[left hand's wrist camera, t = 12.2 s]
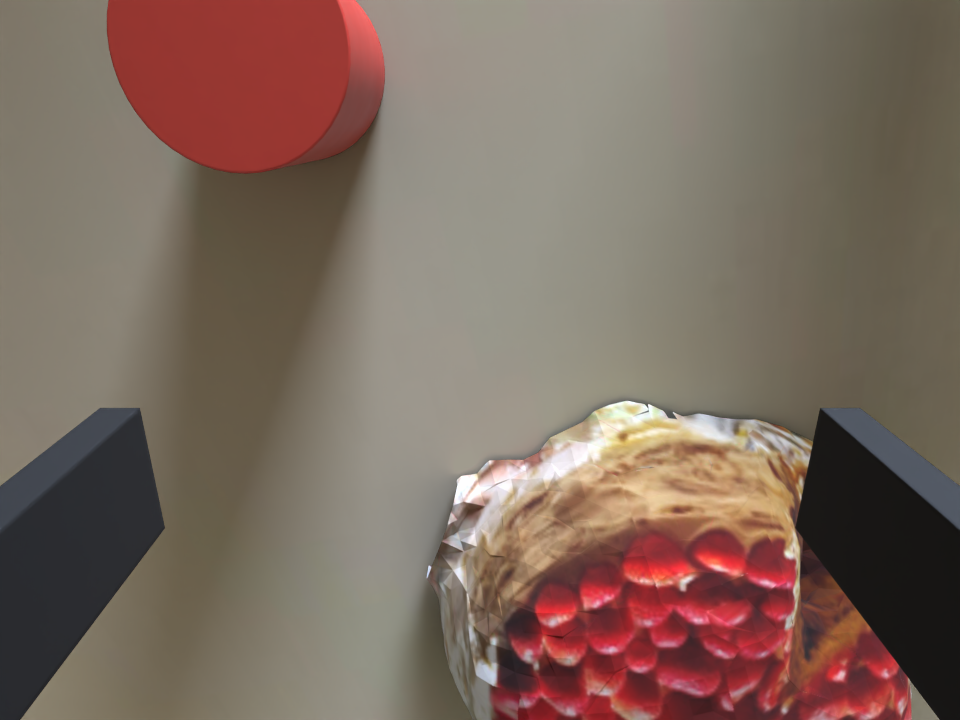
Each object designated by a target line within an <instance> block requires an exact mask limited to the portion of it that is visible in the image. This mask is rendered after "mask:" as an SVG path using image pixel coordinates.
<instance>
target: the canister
mask: <svg viewBox="0 0 960 720" xmlns="http://www.w3.org/2000/svg"><path fill="white" fill-rule="evenodd" d="M107 36H108V44H109V51H110V55H111V59H112V63H113V67H114V70H115V72H116V75H117V78H118V80H119V83H120V85H121V87H122V89H123V91H124V93H125V95H126V97H127V99H128V101H129V102H130V104H131V105H132V107H133V108H134V110H135V112H136V113H137V115H138V116H139V117H140V118H141V119H142V121H143V122H144V123H145V124H146V126H147V127H148V128H149V129H150V130H151V131H152V132H153V133H154V134H155V135H156V136H157V137H158V138H159V139H160V140H161V141H163V142H164V143H165V144H166V145H168V146H169V147H170V148H171V149H173V150H174V151H176V152H178V153H179V154H181V155H182V156H184V157H186V158H187V159H189V160H192V161H194V162H196V163H198V164H200V165H203V166H206V167H209V168H212V169H215V170H219V171H224V172H230V173H244V174H248V173H261V172H265V171H270V170H274V169H279V168H284V167H288V166H293V165H297V164H302V163H307V162H311V161H316V160H320V159H325V158H329V157H331V156H334V155H337V154H339V153H341V152H342V151H344V150H346V149H348V148H349V147H350V146H352V145H353V144H354V143H356V142H357V141H358V140H359V139H360V138H361V137H362V136H363V135H364V133H365V132H366V131H367V129H368V128H369V127H370V125H371V123H372V122H373V120H374V118H375V116H376V114H377V112H378V109H379V107H380V103H381V100H382V96H383V90H384V82H385V68H384V59H383V53H382V49H381V45H380V42H379V39H378V36H377V34H376V31H375V29H374V27H373V25H372V23H371V21H370V20H369V18H368V17H367V15H366V13H365V12H364V10H363V9H362V8H361V7H360V6H359V4H358V3H357V2H356V1H355V0H109V1H108V10H107Z"/></svg>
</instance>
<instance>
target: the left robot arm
mask: <svg viewBox="0 0 960 720" xmlns="http://www.w3.org/2000/svg"><path fill="white" fill-rule="evenodd" d="M164 529H165V526H164V522H163V517H162V512H161V507H160V502H159V498H158V493H157V488H156V483H155V479H154V474H153V469H152V464H151V459H150V455H149V450H148V445H147V440H146V436H145V431H144V426H143V421H142V416H141V412H140V408H100V409H98V410H97V411H96V412H94V413H93V414H92V415H91V416H89V417H88V418H87V419H86V420H84V421H83V422H82V423H80V424H79V425H78V426H77V427H75V428H74V429H73V430H71V431H70V432H69V433H68V434H66V435H65V436H64V437H63V438H61V439H60V440H59V441H57V442H56V443H55V444H54V445H52V446H51V447H50V448H48V449H47V450H46V451H45V452H43V453H42V454H41V455H39V456H38V457H37V458H36V459H34V460H33V461H32V462H31V463H29V464H28V465H27V466H25V467H24V468H23V469H22V470H20V471H19V472H18V473H16V474H15V475H14V476H13V477H11V478H10V479H9V480H8V481H6V482H5V483H4V484H2V485H1V486H0V720H20V719H21V718H22V717H23V715H24V714H25V713H26V711H27V710H28V709H29V707H30V706H31V705H32V703H33V702H34V701H35V699H36V698H37V697H38V695H39V694H40V693H41V691H42V690H43V689H44V687H45V686H46V685H47V683H48V682H49V681H50V680H51V678H52V677H53V676H54V674H55V673H56V672H57V670H58V669H59V668H60V666H61V665H62V664H63V662H64V661H65V660H66V658H67V657H68V656H69V654H70V653H71V652H72V650H73V649H74V648H75V646H76V645H77V644H78V642H79V641H80V640H81V638H82V637H83V636H84V634H85V633H86V632H87V631H88V629H89V628H90V627H91V625H92V624H93V623H94V621H95V620H96V619H97V617H98V616H99V615H100V613H101V612H102V611H103V609H104V608H105V607H106V605H107V604H108V603H109V601H110V600H111V599H112V597H113V596H114V595H115V593H116V592H117V591H118V589H119V588H120V587H121V586H122V584H123V583H124V582H125V580H126V579H127V578H128V576H129V575H130V574H131V572H132V571H133V570H134V568H135V567H136V566H137V564H138V563H139V562H140V560H141V559H142V558H143V556H144V555H145V554H146V552H147V551H148V550H149V548H150V547H151V546H152V544H153V543H154V542H155V540H156V539H157V538H158V537H159V535H160V534H161V533H162V531H163V530H164ZM795 529H796V530H797V531H798V533H799V534H800V535H801V537H802V538H803V539H804V540H805V542H806V543H807V544H808V546H809V547H810V548H811V550H812V551H813V552H814V554H815V555H816V556H817V558H818V559H819V560H820V562H821V563H822V564H823V566H824V567H825V568H826V570H827V571H828V572H829V574H830V575H831V576H832V578H833V579H834V580H835V582H836V583H837V584H838V586H839V587H840V588H841V589H842V591H843V592H844V593H845V595H846V596H847V597H848V599H849V600H850V601H851V603H852V604H853V605H854V607H855V608H856V609H857V611H858V612H859V613H860V615H861V616H862V617H863V619H864V620H865V621H866V623H867V624H868V625H869V627H870V628H871V629H872V631H873V632H874V633H875V635H876V636H877V637H878V638H879V640H880V641H881V642H882V644H883V645H884V646H885V648H886V649H887V650H888V652H889V653H890V654H891V656H892V657H893V658H894V660H895V661H896V662H897V664H898V665H899V666H900V668H901V669H902V670H903V672H904V673H905V674H906V676H907V677H908V678H909V680H910V681H911V682H912V683H913V685H914V686H915V687H916V689H917V690H918V691H919V693H920V694H921V695H922V697H923V698H924V699H925V701H926V702H927V703H928V705H929V706H930V707H931V709H932V710H933V711H934V713H935V714H936V715H937V717H938V718H939V719H940V720H960V486H959V485H958V484H956V483H955V482H954V481H952V480H951V479H950V478H949V477H947V476H946V475H945V474H943V473H942V472H941V471H940V470H938V469H937V468H936V467H935V466H933V465H932V464H931V463H929V462H928V461H927V460H926V459H924V458H923V457H922V456H920V455H919V454H918V453H917V452H915V451H914V450H913V449H912V448H910V447H909V446H908V445H906V444H905V443H904V442H903V441H901V440H900V439H899V438H897V437H896V436H895V435H894V434H892V433H891V432H890V431H889V430H887V429H886V428H885V427H883V426H882V425H881V424H880V423H878V422H877V421H876V420H874V419H873V418H872V417H871V416H869V415H868V414H867V413H866V412H864V411H863V410H862V409H860V408H820V412H819V416H818V421H817V426H816V431H815V436H814V440H813V445H812V450H811V455H810V459H809V464H808V469H807V474H806V479H805V483H804V488H803V493H802V498H801V502H800V507H799V512H798V517H797V522H796V526H795Z"/></svg>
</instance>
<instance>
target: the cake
mask: <svg viewBox="0 0 960 720" xmlns="http://www.w3.org/2000/svg"><path fill="white" fill-rule="evenodd" d="M648 408H649V409H648ZM648 408H647V407H646V405H645V404H640V403H635V402H630V401H624V402H620V403H616V404H611V405H608V406H606V407H603V408H601V409H598V410H596V411H594V412H593V413H592V414H591V415H590V416H589V417H587V418H586V419H585V420H584V421H583V422H582V423H580V424H578V425H576V426H573V427H571V428H569V429H567V430H565V431H563V432H561V433H559V434H557V435H555V436H553V437H550V438H549V439H548V441H547V442H546V443H545V445H544V446H543V447H542V448H541V450H540V451H539V452H538V453H537V454H535V455H532V456H530V457H528V458H526V459H524V460H492V461H488V462H487V463H486V464H485V465H484V466H483V467H482V469H481V470H480V471H479V472H478V473H477V474H472V475H465V476H461V477H460V478H459V479H458V480H457V484H458V486H457V490H456V495H455V499H454V504H453V507H452V510H451V514H450V518H449V522H448V525H447V528H446V531H445V534H444V537H443V540H442V543H441V545H440V548H439V550H438V553H437V555H436V558H435V560H434V562H433V565H432V566H430V565H429V567H428V573H427V580H428V581H429V583H430V584H431V585H432V587H433V589H434V591H435V593H436V595H437V597H438V599H439V606H440V614H441V622H442V628H443V634H444V648H445V652H446V656H447V661H448V665H449V669H450V672H451V674H452V677H453V679H454V682H455V684H456V686H457V688H458V690H459V693H460V695H461V697H462V699H463V701H464V704H465V705H466V707H467V708H468V710H469V713H470V715H471V717H472V719H473V720H911V686H910V680H909V678H908V677H907V676H906V674H905V673H904V672H903V670H902V669H901V668H900V666H899V665H898V664H897V662H896V661H895V660H894V658H893V657H892V656H891V654H890V653H889V652H888V650H887V649H886V648H885V646H884V645H883V644H882V642H881V641H880V640H879V638H878V637H877V636H876V635H875V633H874V632H873V631H872V629H871V628H870V627H869V625H868V624H867V623H866V621H865V620H864V619H863V617H862V616H861V615H860V613H859V612H858V611H857V609H856V608H855V607H854V605H853V604H852V603H851V601H850V600H849V599H848V597H847V596H846V595H845V593H844V592H843V591H842V589H841V588H840V587H839V586H838V584H837V583H836V582H835V580H834V579H833V578H832V576H831V575H830V574H829V572H828V571H827V570H826V568H825V567H824V566H823V564H822V563H821V562H820V560H819V559H818V558H817V556H816V555H815V554H814V552H813V551H812V550H811V548H810V547H809V546H808V544H807V543H806V542H805V540H804V539H803V538H802V537H801V535H800V534H799V533H798V531H797V530H796V529H795V526H796V522H797V517H798V512H799V507H800V502H801V498H802V493H803V488H804V483H805V479H806V474H807V469H808V464H809V459H810V455H811V450H812V445H813V441H811V440H809V439H807V438H805V437H803V436H800V435H798V434H796V433H794V432H792V431H790V430H788V429H786V428H784V427H782V426H778V425H775V424H771V423H767V422H764V421H760V420H757V419H753V420H745V419H728V418H719V417H715V416H710V415H704V414H694V415H689V416H684V417H683V416H681V415H678V414H676V413H674V415H675V416H676V418H677V419H671V418H668V417H667V416H666V414H665V412H664V411H662V410H660V409H658V408H656V407H654V406H652V405H649V404H648ZM648 410H649V412H647V413H643V412H645V411H648ZM640 413H643V414H640ZM637 414H640V415H637ZM635 415H636V416H635Z"/></svg>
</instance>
